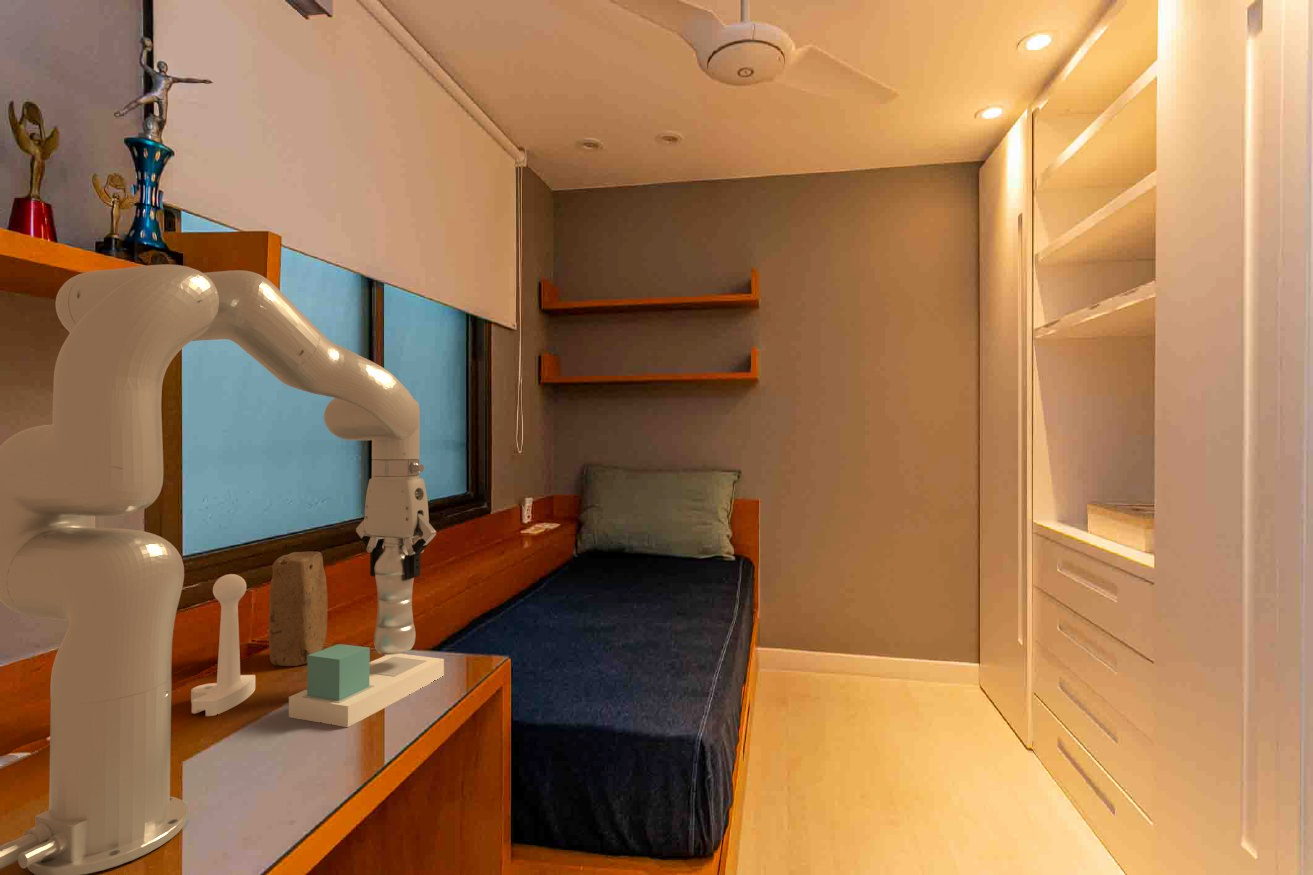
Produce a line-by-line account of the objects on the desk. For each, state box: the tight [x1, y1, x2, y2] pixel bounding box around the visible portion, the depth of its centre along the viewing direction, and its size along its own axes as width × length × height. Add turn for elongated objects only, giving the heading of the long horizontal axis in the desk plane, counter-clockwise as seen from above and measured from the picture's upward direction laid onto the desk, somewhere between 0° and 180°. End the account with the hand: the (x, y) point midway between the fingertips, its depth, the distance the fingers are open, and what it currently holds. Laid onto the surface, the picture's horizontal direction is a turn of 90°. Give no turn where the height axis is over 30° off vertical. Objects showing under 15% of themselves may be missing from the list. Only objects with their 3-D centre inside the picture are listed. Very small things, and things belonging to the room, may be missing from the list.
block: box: [268, 550, 328, 667], centre depth 123 cm, size 11×8×20 cm
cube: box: [306, 643, 371, 701], centre depth 99 cm, size 6×6×6 cm
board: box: [288, 653, 445, 728], centre depth 106 cm, size 22×11×3 cm, turn 162°
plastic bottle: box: [373, 537, 417, 656], centre depth 111 cm, size 6×7×20 cm
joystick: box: [190, 573, 256, 717], centre depth 103 cm, size 11×8×20 cm
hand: (395, 575), depth 111 cm, fingers closed on plastic bottle, 6 cm apart
